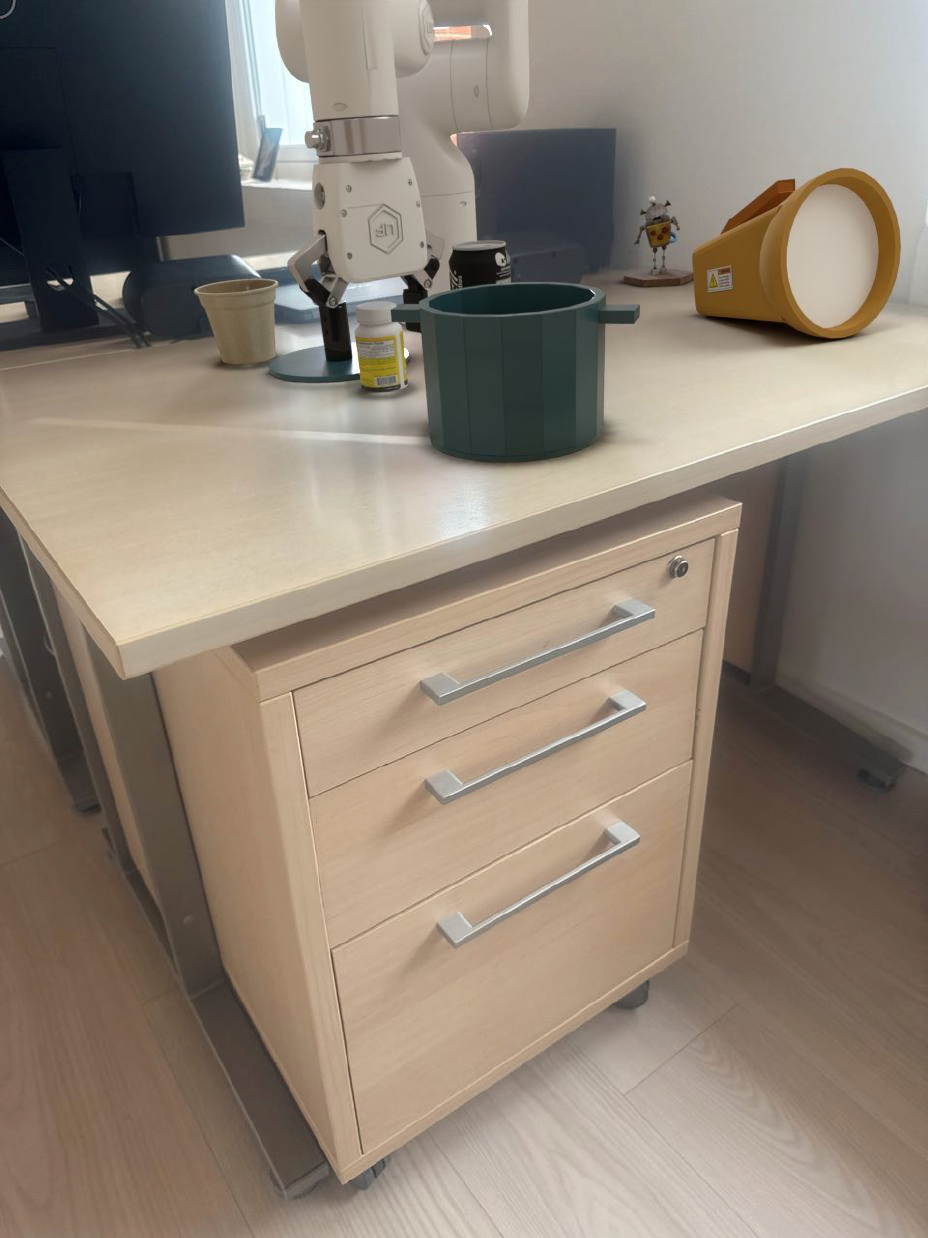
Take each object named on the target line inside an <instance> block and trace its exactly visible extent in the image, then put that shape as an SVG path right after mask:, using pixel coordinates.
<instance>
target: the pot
mask: <svg viewBox="0 0 928 1238" xmlns="http://www.w3.org/2000/svg"><path fill="white" fill-rule="evenodd" d="M640 313H641V304H638V303H636V304H633V303H632V304H628V303H627V304H621V303H620V304H619V303H618V304H617V303H616V304H615V303H614V304H613V303H612V304H611V303H610V304H609V303H607V294H606V293H605V292H604V291H603V290H601V289H600V288H599V287H595V286H591V285H585V284H581V283H571V282H570V283H569V282H556V281H524V282H523V281H518V282H515V281H514V282H511V283H502V284H488V285H480V286H473V287H466V288H459V289H453V290H449V291H445V292H441V293H437V294H433V295H431V296H429V297H427V298H425V299H423V300H421V301H419V304H404V303H401V304H399V305H396V307H395V308H393V309H391V320H392V322H398V323H400V322H420V324H421V333H420V334H421V335H420V336H421V347H422V360H423V373H424V385H425V395H426V410H427V421H428V422H427V423H428V433H429V434H428V435H429V440H430V443H431V445H432V446H433V447H434V448H435V449H436V450H438V451H439V452H441V453H443V454H447V455H448V456H452V457H455V458H459V459H465V460H469V461H476V462H489V463H520V462H521V463H522V462H533V461H540V460H547V459H553V458H558V457H563V456H565V455H570V454H573V453H575V452H578V451H579V452H580V451H581V450H584V449H586V448H588V447H590V446H591V445H593V444H594V443H596V442H598V440H599V439H600V437H601V435H602V433H603V431H602V429H603V426H604V424H605V423H604V422H605V418H604V417H605V415H604V414H605V377H606V376H605V373H606V371H605V370H606V369H605V368H606V367H605V366H606V325H635V323H636V322H637V321H638V320H639V318H640Z"/></svg>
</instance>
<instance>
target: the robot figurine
mask: <svg viewBox="0 0 928 1238" xmlns="http://www.w3.org/2000/svg"><path fill="white" fill-rule="evenodd" d="M648 203H649V204H650V205H649V206H648V207H647V208H646V211H645V210H644V209H642V208H640V211H639V217H641V216H642V215H644V216H645V217H644V220H643V224H641V225H640V226H639V230H638V231H639V232H638V234H637V237H636V239H634V240H633V245H634V246H635V245H640V243H641V238H642V234H643V231H644V233H645V237H646V240H647V242H648V245H649V247H650V248H651V249H652V252H653V259H652V262H653V268H652V269H642V270H640V269H639V270H636V271H633V272H630V273H628V274H625V275H623V283H624V284H629V285H633V286H638V287H643V288H644V287H645V288H646V287H664V286H665V287H666V286H669V287H670V286H681V285H683V284H686V283H688V282H691V281H694V278H693V271H689V270H683V269H677V268H666V265H665V260H666V256H665V251H666V250H667V247H668V246H669V245H670V244H675V243H676V242H678V239H679V238H678V235H677V234H676V233H675V232H674V231H672V225H674V226H675V227H676V231H677V232H678V231H680V230H681V227H680V226H679V225H680V224H679V222H678V219H677V217H676V216H675V215H672V216H670V215H669V214H668V213H669V211H668V208H667V207H669V206H672V204H671V202H670V201H669V200H668V199H666V201H665V204H663V203H662V202H656V197H655V196H654V195H652V196H649V198H648ZM671 238H672V239H671ZM658 248H661V250H662V255H661V260H662V261H661V263H662V264H661V267H660V268H657V263H656V262H657V258H656V254H657V252H658V250H659V249H658Z"/></svg>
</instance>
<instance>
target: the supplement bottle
mask: <svg viewBox="0 0 928 1238" xmlns="http://www.w3.org/2000/svg"><path fill="white" fill-rule="evenodd" d="M395 307H397V303H396V302H394V301H386V300H384V301H382V300H381V301H370V302H364V303H360V304H358V305H355V309H354V310H355V320H356V323H358V324H359V325H357V326H356V327H355V329H354V339H355V343H356V348H357V356H358V364H359V372H360V379H359V380H360V387H361V389H362V391H364V392H369V393H388V392H396V391H399V390H402V389H405V388H407V387H408V385H409V379H408V370H407V369H408V368H407V363H406V359H405V349H406V348H405V340H404V330H403V329H404V328H403V326H402V324H401V323H400V322H392V320H391V309H393V308H395Z"/></svg>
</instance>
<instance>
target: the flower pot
mask: <svg viewBox="0 0 928 1238" xmlns="http://www.w3.org/2000/svg"><path fill="white" fill-rule="evenodd" d="M278 286H279V281H278V280H276V279H271V278H244V279H243V278H242V279H232V280H224V281H218V282H212V283H208V284H204V285H201V286H198V287H196V288H195V289H194V290H193V293H194V295H196V296H198V299H199V302H200V304H201V306H202V307H203V308H204V311H205V313H206V316H207V319H208V322H209V326H210V328H211V331H212V334H213V337H214V340H215V342H216V345H217V346H216V347H217V348H218V352H219V355H220V358H221V361H222V362H223V363H224V364H228V365H247V364H256V363H261V362H265V361H269V360H271V359H275V357H276V356H277V350H276V347H277V345H276V325H275V324H276V321H275V300H276V299H277V287H278Z"/></svg>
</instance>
